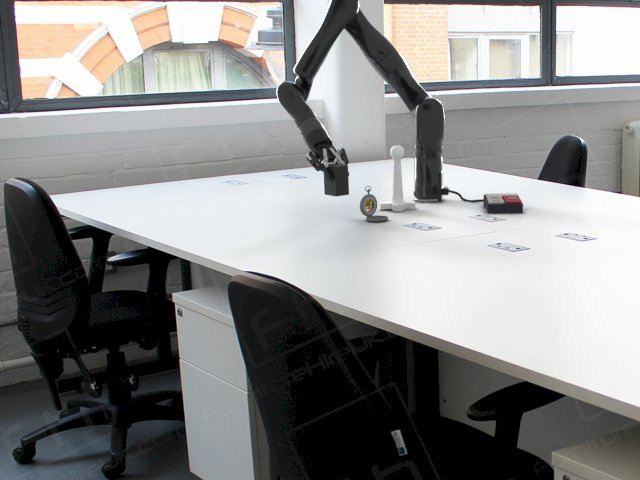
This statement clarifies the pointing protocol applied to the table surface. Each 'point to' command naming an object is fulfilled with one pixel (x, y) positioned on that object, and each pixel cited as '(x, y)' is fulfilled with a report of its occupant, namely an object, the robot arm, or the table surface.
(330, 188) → the dark grey rectangular block
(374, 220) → the pocket watch
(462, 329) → the table surface
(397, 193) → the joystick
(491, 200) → the control box
